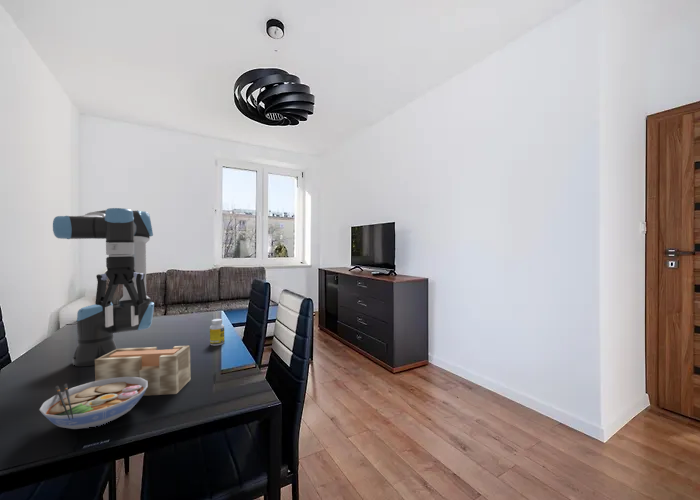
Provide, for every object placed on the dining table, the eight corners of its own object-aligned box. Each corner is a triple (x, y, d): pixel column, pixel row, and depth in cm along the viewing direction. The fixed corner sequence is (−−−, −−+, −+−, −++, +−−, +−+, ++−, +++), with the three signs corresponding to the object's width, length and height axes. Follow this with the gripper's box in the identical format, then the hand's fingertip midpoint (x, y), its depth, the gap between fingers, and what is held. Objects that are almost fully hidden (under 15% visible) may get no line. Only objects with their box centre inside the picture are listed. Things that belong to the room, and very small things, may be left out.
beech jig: (95, 398, 99) (94, 359, 99) (118, 383, 110) (117, 348, 110) (176, 393, 101) (175, 356, 101) (190, 379, 112) (189, 345, 112)
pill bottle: (219, 346, 150) (218, 321, 150) (207, 345, 151) (206, 321, 151) (227, 342, 156) (226, 318, 156) (215, 341, 157) (215, 318, 157)
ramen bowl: (159, 421, 85) (159, 391, 85) (40, 463, 69) (39, 425, 69) (138, 392, 103) (137, 366, 103) (39, 420, 87) (38, 390, 87)
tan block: (109, 368, 103) (109, 355, 103) (117, 363, 107) (117, 351, 106) (174, 364, 104) (174, 352, 104) (179, 360, 108) (179, 348, 108)
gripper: (78, 256, 100) (80, 329, 100) (146, 255, 102) (148, 327, 102) (95, 256, 107) (97, 324, 108) (158, 255, 109) (160, 321, 109)
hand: (122, 325), depth 105 cm, fingers open, 7 cm apart
